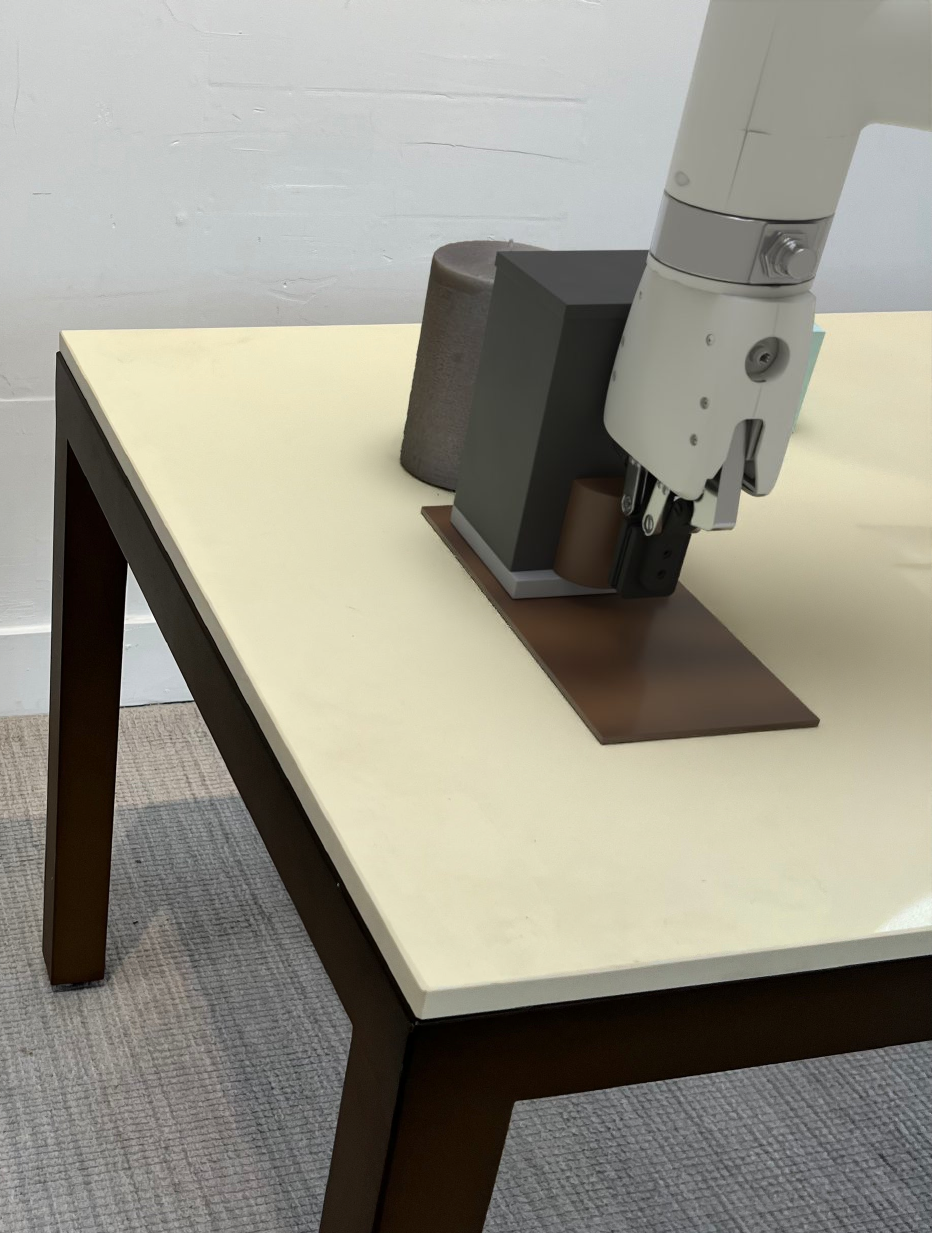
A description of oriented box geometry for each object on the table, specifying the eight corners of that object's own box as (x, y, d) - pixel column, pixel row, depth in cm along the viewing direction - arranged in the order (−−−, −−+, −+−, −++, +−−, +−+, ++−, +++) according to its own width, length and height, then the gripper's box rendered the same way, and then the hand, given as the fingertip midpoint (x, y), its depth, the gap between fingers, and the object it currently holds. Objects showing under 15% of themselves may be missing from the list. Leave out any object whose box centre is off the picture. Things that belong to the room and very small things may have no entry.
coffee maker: (688, 603, 80) (774, 317, 70) (522, 613, 78) (588, 320, 69) (597, 513, 89) (663, 249, 80) (447, 520, 87) (496, 250, 78)
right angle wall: (588, 368, 112) (610, 273, 108) (734, 374, 113) (761, 279, 109) (633, 427, 103) (659, 325, 98) (792, 432, 103) (825, 331, 99)
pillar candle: (374, 445, 98) (406, 222, 89) (494, 431, 101) (536, 215, 92) (445, 504, 90) (487, 267, 82) (571, 487, 93) (625, 257, 85)
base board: (818, 726, 71) (821, 719, 71) (601, 744, 69) (603, 737, 69) (593, 503, 92) (594, 498, 91) (420, 511, 89) (421, 505, 89)
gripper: (907, 291, 60) (776, 658, 70) (726, 198, 71) (638, 525, 82) (749, 294, 58) (640, 668, 69) (591, 199, 70) (519, 531, 81)
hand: (639, 589), depth 76 cm, fingers closed
